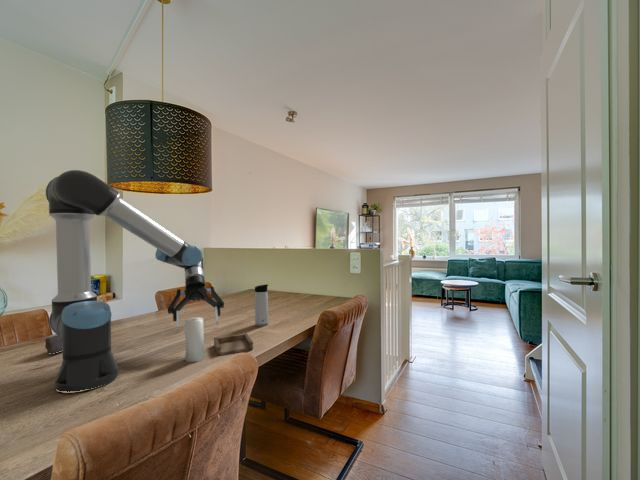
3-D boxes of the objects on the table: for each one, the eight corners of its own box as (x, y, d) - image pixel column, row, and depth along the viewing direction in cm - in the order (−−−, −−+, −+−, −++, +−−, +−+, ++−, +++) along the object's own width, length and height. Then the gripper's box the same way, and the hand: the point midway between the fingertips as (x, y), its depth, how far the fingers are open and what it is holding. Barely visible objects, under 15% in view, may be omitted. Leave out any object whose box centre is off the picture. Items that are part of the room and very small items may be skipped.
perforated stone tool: (76, 343, 125) (76, 327, 125) (87, 344, 125) (87, 327, 125) (38, 357, 110) (38, 339, 110) (51, 358, 110) (51, 339, 110)
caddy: (217, 355, 109) (217, 347, 109) (214, 345, 120) (213, 338, 120) (252, 349, 115) (252, 342, 115) (246, 340, 125) (246, 333, 125)
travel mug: (265, 326, 145) (265, 285, 145) (253, 326, 146) (252, 285, 146) (270, 323, 151) (270, 283, 151) (258, 322, 152) (257, 283, 152)
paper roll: (185, 363, 103) (185, 322, 103) (185, 357, 108) (185, 318, 108) (204, 360, 105) (203, 320, 105) (203, 354, 111) (202, 316, 111)
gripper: (225, 283, 133) (231, 326, 119) (161, 288, 122) (160, 335, 108) (226, 272, 128) (233, 315, 114) (160, 276, 117) (159, 325, 104)
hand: (198, 325), depth 111 cm, fingers open, 13 cm apart
